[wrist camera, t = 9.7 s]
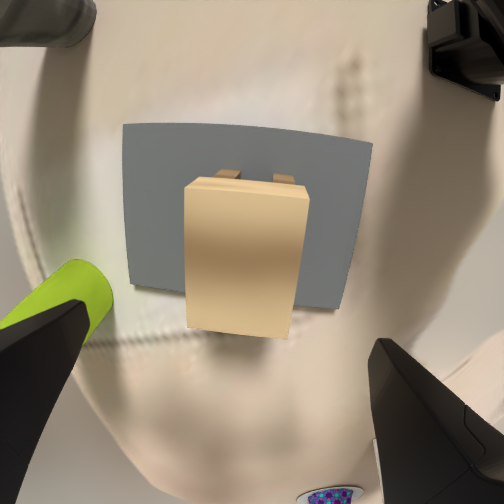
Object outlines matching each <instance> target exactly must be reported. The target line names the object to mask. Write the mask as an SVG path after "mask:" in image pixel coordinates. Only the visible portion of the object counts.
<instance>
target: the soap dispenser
mask: <svg viewBox="0 0 504 504" xmlns="http://www.w3.org/2000/svg"><path fill="white" fill-rule="evenodd" d="M72 299H77V300H82V301H84V302H85V304H86V307H87V311H88V315H89V319H90V328H89V331H88V333H87V336H86V338H85V341H84V343H83V345H84V344H85V342H86V341H87V340H88V338H89V337H90V336H91V334H92V333H93V332H94V330H95V329H96V328H97V326H98V325H99V324H100V322H101V321H102V320H103V318H104V317H105V316H106V314H107V313H108V312H109V311H110V309H111V307H112V303H113V295H112V290H111V287H110V285H109V283H108V281H107V279H106V278H105V276H104V275H103V274H102V273H101V272H100V271H99V270H98V269H97V268H96V267H95V266H94V265H92V264H90V263H89V262H86V261H84V260H79V259H74V260H70V261H68V262H67V263H65V264H64V265H63V266H62V267H61V268H59V269H58V270H57V271H56V272H55V273H53V274H52V275H51V276H50V277H49V278H47V279H46V280H45V281H44V282H43V283H42V284H40V285H39V286H38V287H37V288H36V289H35V290H34V291H33V292H31V293H30V294H29V295H28V296H27V297H26V298H25V299H24V300H23V301H22V302H20V303H19V304H18V305H17V306H16V307H15V308H14V309H13V310H12V311H11V312H10V313H9V314H7V316H5V317H4V318H3V319H2V320H1V321H0V329H3V328H5V327H7V326H10V325H12V324H14V323H17V322H19V321H21V320H24V319H26V318H28V317H31V316H33V315H35V314H38V313H40V312H43V311H45V310H47V309H50V308H52V307H55V306H57V305H59V304H62V303H64V302H67V301H69V300H72ZM83 345H82V346H83Z"/></svg>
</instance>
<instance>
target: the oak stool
mask: <svg viewBox="0 0 504 504" xmlns="http://www.w3.org/2000/svg"><path fill="white" fill-rule="evenodd" d="M240 177H241V170H229V169H221V170H220V171H219V172H218V173H216V174H215V175H214V176H213V177H198V178H197V179H196V180H194V181H193V182H191V183H190V184H189V185H187V186H186V187H185V188H184V257H185V292H186V315H187V328H194V329H201V330H208V331H215V332H223V333H231V334H239V335H248V336H257V337H267V338H277V339H287V337H288V332H289V327H290V321H291V316H292V310H293V305H294V299H295V293H296V287H297V281H298V275H299V269H300V263H301V256H302V250H303V243H304V237H305V230H306V223H307V216H308V209H309V201H310V198H309V196H308V193H307V191H306V188H305V186H300V185H296V184H295V180H294V177H293V175H285V174H275V173H274V174H273V183H272V182H262V181H251V180H240Z"/></svg>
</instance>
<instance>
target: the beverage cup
mask: <svg viewBox="0 0 504 504" xmlns="http://www.w3.org/2000/svg"><path fill="white" fill-rule="evenodd" d="M96 11H97V10H96V5H95V3H94V2H93V1H92V0H0V47H66V48H67V47H70V46H73V45H75V44H76V43H78V42H79V41H81V40H82V39H83V38H84V37H85V36H86V35H87V33H88V32H89V30H90V29H91V28H92V26H93V23H94V21H95V18H96Z"/></svg>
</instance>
